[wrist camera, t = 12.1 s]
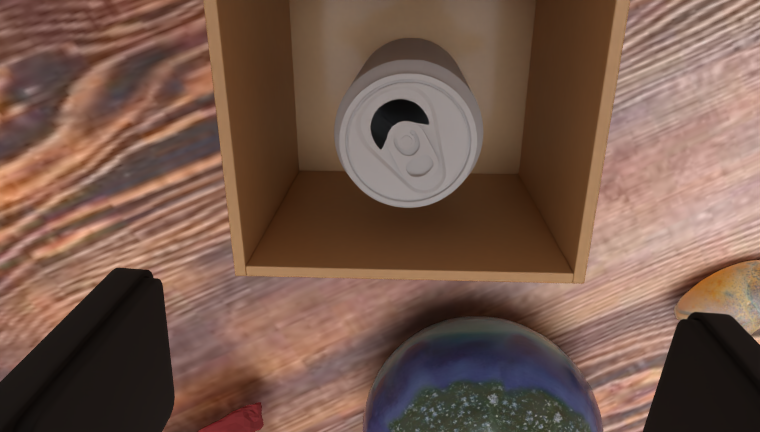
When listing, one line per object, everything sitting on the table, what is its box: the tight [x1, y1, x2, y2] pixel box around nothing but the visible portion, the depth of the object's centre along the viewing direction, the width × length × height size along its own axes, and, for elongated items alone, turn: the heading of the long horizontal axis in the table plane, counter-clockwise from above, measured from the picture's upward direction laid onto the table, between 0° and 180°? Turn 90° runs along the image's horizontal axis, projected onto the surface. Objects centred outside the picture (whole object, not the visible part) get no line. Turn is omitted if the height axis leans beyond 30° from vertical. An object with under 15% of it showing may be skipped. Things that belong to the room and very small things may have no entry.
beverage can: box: [334, 38, 483, 208], centre depth 28 cm, size 6×6×12 cm
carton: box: [203, 0, 630, 284], centre depth 28 cm, size 13×15×14 cm
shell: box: [674, 260, 760, 335], centre depth 37 cm, size 8×4×5 cm, turn 133°
